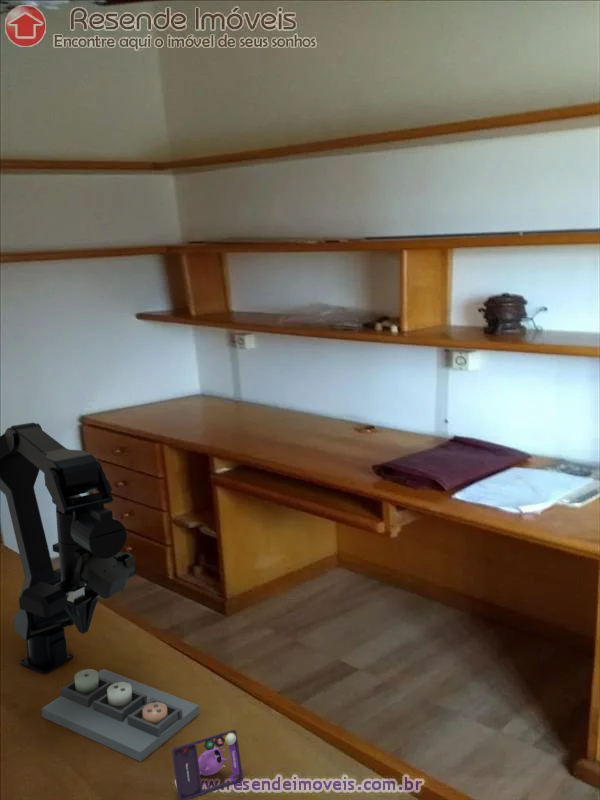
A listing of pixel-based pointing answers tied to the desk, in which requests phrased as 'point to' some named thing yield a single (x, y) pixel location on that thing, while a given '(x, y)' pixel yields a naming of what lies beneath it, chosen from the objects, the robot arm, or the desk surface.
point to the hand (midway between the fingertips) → (83, 632)
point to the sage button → (86, 680)
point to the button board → (119, 716)
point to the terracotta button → (154, 712)
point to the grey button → (119, 694)
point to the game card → (204, 764)
